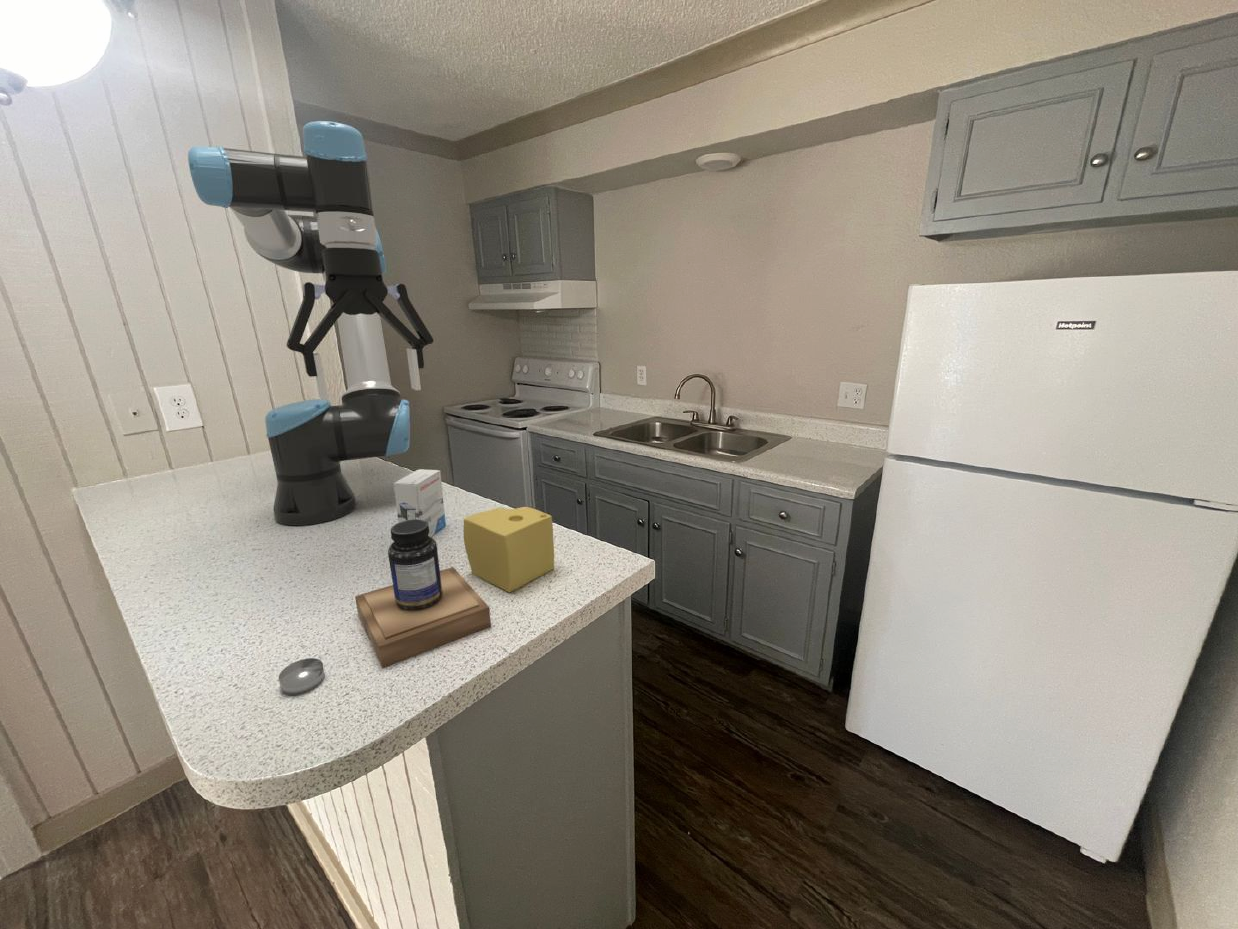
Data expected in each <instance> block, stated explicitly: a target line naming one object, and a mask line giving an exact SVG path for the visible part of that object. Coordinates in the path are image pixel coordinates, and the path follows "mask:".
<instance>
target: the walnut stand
mask: <svg viewBox="0 0 1238 929" xmlns="http://www.w3.org/2000/svg"><path fill="white" fill-rule="evenodd" d="M440 576H441V584H442V596H441V598H440V599H439V600H438V602H436V603H435V604H434V605H432V606H430V607H427V608H424V609H420V610H404V609H401V608H400V607H399V606H398V605H397V604H396V601H395V595H394V589H393V584H391V585H388V586H384V587H382V588H378V589H375V590H372V591H367V592H365V593H361V594H358V595H355V596H354V598H355V604H356V609H357V610H356V611H357V614H358V617H359V619H360V621H361V624H362V627H363V629H364V630H365V632H366V635H367V637H368V640H369V642H370V644H371V646H372V648H373V650H374V653H375V654H376V657H377V660H378V661H379V664H380V666H381V668H386V667H388V666H390V665H394V664H395V663H398V662H402V661H403V660H406V659H409V658H411V657H414V656H417V655H419V654H421V653H424V652H427V651H431V650H433V649H436V648H438V647H440V646H443V645H446V644H448V643H451V642H453V641H456V640H459V639H461V638H464V637H466V636H469V635H471V634H474V633H477V632H480V631H482V630H485V629H488V628H490V627H492V622H491V613H490V606H489V605H488V604H487V603H486V602H485V601H484V599H483V598H482V597H481V596H480V595H479V594H478V593H477V591H476V590H474V589H473V587H472V586H471V585H470V584H469V583H468V582H467V581H466V580H465V579H464V577H463V576H462V575H461V573H459V572H458V571H457V570H456V568H455V567H454V566H452V567H447V568H444V569H442V570H441V569H440Z"/></svg>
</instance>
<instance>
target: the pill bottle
mask: <svg viewBox="0 0 1238 929" xmlns="http://www.w3.org/2000/svg"><path fill="white" fill-rule="evenodd" d="M428 534H429V525H428V523H427V522H426V521H424V520H418V519H414V520H406V521H402V522H399V523H398V522H397V523H395V524H394V525H392V526H391V528H390V535H391V536H390V538H391V540H392V541H393V542H392V543H391V544H390V545H389V547H388V550H387V554H388V555H387V556H388V562H389V568H390V575H391V581H392V585H393V589H394V595H395V601H396V604H397V605H398V606H399V607H400V608H401V609H404V610H420V609H424V608H427V607H430V606H432V605H434V604H435V603H436V602H438V600H439V599H440V598H441V596H442V584H441V576H440V571H441V568H440V561H439V553H438V552H439V551H438V545H437V542H436V540H435V539H434V538H432V537H430V536H428Z"/></svg>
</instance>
